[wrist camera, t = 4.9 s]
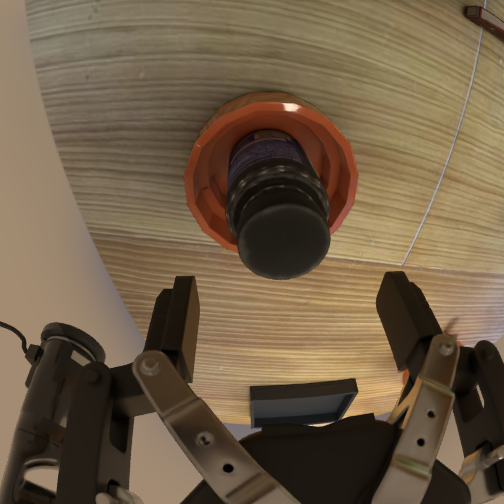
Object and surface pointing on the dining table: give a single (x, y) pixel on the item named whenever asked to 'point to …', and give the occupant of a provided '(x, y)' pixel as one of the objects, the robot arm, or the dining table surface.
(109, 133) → the dining table surface
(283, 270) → the pill bottle
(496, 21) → the knife
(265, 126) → the bowl
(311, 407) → the tray
